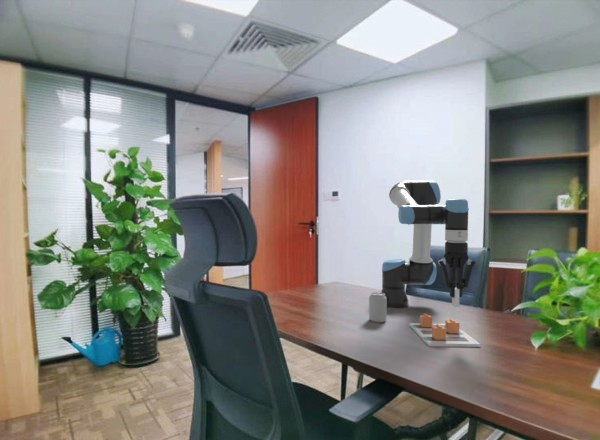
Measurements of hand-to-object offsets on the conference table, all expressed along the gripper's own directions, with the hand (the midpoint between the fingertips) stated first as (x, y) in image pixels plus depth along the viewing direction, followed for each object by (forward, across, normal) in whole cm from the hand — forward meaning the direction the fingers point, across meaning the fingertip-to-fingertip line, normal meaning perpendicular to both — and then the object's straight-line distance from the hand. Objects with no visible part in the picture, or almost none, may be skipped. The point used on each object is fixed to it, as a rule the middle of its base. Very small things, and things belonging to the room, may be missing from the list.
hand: (455, 305), depth 122 cm
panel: (+13, -3, +6) cm, 15 cm away
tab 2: (+12, -6, -1) cm, 13 cm away
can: (+14, -24, +24) cm, 36 cm away
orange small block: (+12, -6, +13) cm, 19 cm away
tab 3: (+12, +1, +6) cm, 13 cm away
